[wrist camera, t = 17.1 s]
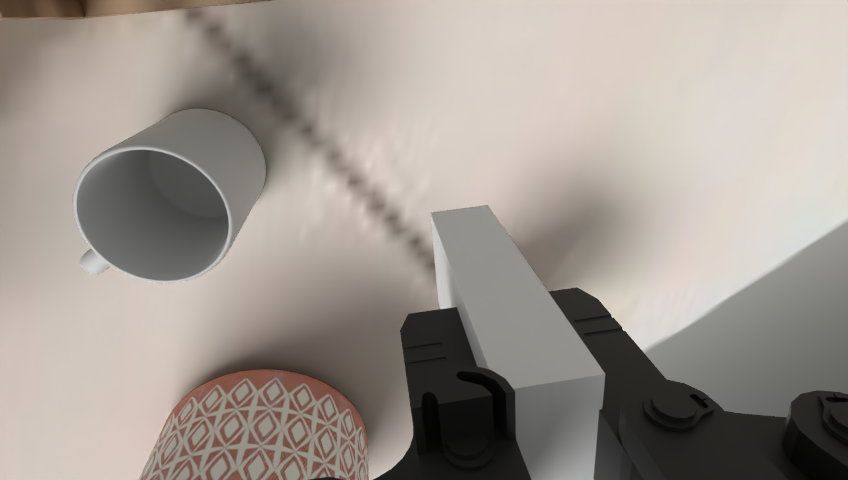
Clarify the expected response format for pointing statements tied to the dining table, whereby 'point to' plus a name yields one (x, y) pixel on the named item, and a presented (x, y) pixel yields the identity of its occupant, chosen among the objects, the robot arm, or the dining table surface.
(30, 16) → the caddy
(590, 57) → the dining table surface
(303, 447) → the planter
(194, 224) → the mug
